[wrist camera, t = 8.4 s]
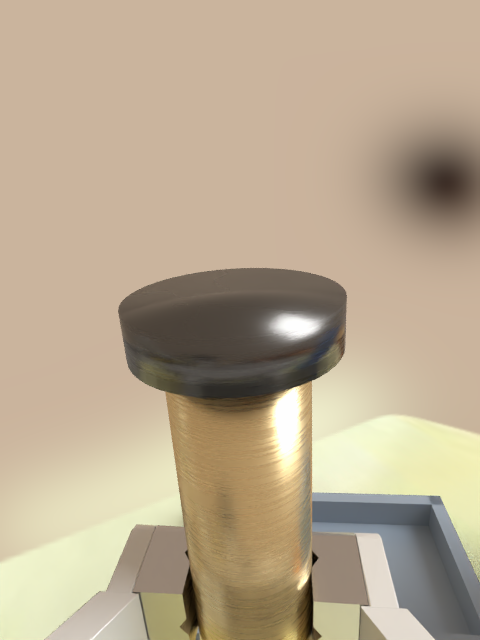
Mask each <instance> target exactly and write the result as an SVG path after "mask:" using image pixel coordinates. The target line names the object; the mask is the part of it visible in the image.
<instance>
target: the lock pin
mask: <svg viewBox="0 0 480 640" xmlns="http://www.w3.org/2000/svg"><path fill="white" fill-rule="evenodd" d="M346 301H347V295H346V292H345V290H344V288H343V287H342V286H340V285H339V284H338V283H336V282H335V281H333V280H331V279H328V278H326V277H323V276H319V275H316V274H311V273H307V272H301V271H294V270H285V269H270V268H241V269H226V270H216V271H207V272H200V273H194V274H188V275H184V276H179V277H174V278H170V279H166V280H163V281H160V282H157V283H154V284H151V285H148V286H146V287H143V288H141V289H139V290H137V291H135V292H134V293H132V294H130V295H129V296H128V297H126V298H125V299H124V300H123V301H122V302H121V304H120V306H119V310H118V312H119V318H120V324H121V329H122V336H123V342H124V347H125V353H126V359H127V364H128V367H129V369H130V371H131V372H132V374H133V375H135V376H136V377H137V378H138V379H139V380H141V381H142V382H144V383H145V384H147V385H149V386H152V387H154V388H156V389H159V390H162V391H165V392H166V399H167V406H168V413H169V421H170V428H171V435H172V442H173V449H174V456H175V463H176V470H177V478H178V485H179V492H180V499H181V506H182V513H183V521H184V528H185V535H186V542H187V549H188V556H189V563H190V570H191V578H192V585H193V592H194V599H195V606H196V613H197V620H198V628H199V635H200V640H312V632H311V608H312V599H311V568H312V380H315V379H317V378H319V377H320V376H322V375H324V374H325V373H327V372H328V371H330V370H331V369H332V368H333V367H335V366H336V365H337V363H338V362H339V361H340V360H341V358H342V356H343V354H344V351H345V336H346V335H345V334H346Z"/></svg>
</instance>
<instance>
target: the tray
mask: <svg viewBox="0 0 480 640" xmlns="http://www.w3.org/2000/svg"><path fill="white" fill-rule="evenodd" d="M312 532H349V533H354V534H355V533H376V534H379V535H380V537H381V539H382V543H383V547H384V551H385V555H386V558H387V562H388V566H389V570H390V574H391V578H392V582H393V586H394V590H395V593H396V597H397V601H398V605H399V608H404V609H408V610H409V611H410V613H411V614H412V615H413V616H414V617H415V618H416V619H417V620H418V621H419V623H420V624H421V625H422V626H423V627H424V628H425V629H426V630H427V631H428V633H429V634H430V635H431V636H432V637H433V638H434V639H435V640H480V583H479V581H478V579H477V576H476V574H475V572H474V570H473V568H472V565H471V563H470V561H469V559H468V557H467V554H466V552H465V550H464V548H463V546H462V543H461V541H460V539H459V537H458V535H457V533H456V530H455V528H454V526H453V524H452V522H451V519H450V517H449V515H448V513H447V511H446V508H445V506H444V504H443V502H442V500H441V498H440V496H421V495H384V494H348V493H312ZM196 640H200V635H199V628H198V630H197V635H196Z"/></svg>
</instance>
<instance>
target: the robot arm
mask: <svg viewBox="0 0 480 640" xmlns="http://www.w3.org/2000/svg"><path fill="white" fill-rule="evenodd" d="M311 599H312V608H311V632H312V640H435V639H434V638H433V637H432V636H431V635H430V634H429V633H428V631H427V630H426V629H425V628H424V627H423V626H422V625H421V624H420V623H419V621H418V620H417V619H416V618H415V617H414V616H413V615H412V614H411V613H410V611H409V610H408V609H404V608H399V605H398V601H397V597H396V593H395V590H394V586H393V582H392V578H391V574H390V570H389V566H388V562H387V558H386V555H385V551H384V547H383V543H382V539H381V537H380V535H379V534H376V533H355V534H354V533H349V532H312V568H311ZM197 630H198V620H197V613H196V606H195V599H194V592H193V585H192V578H191V570H190V563H189V556H188V549H187V542H186V535H185V528H184V527H175V526H159V525H158V526H154V525H136V526H135V527H134V528H133V530H132V531H131V533H130V536H129V538H128V540H127V543H126V545H125V547H124V550H123V552H122V555H121V557H120V559H119V562H118V564H117V566H116V569H115V571H114V574H113V576H112V578H111V581H110V583H109V585H108V588H107V590H106V591H99V592H98V593H97V594H96V595H95V596H93V597H92V598H91V599H90V600H89V601H88V602H87V603H85V604H84V605H83V606H82V607H81V608H80V609H79V610H78V611H76V612H75V613H74V614H73V615H72V616H71V617H70V618H68V619H67V620H66V621H65V622H64V623H63V624H62V625H60V626H59V627H58V628H57V629H56V630H55V631H54V632H52V633H51V634H50V635H49V636H48V637H47V638H46V639H44V640H196V635H197Z"/></svg>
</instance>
